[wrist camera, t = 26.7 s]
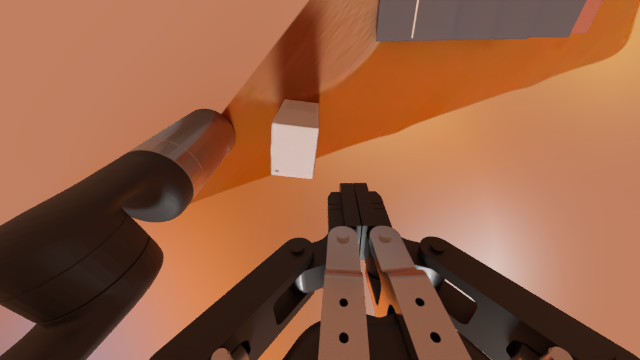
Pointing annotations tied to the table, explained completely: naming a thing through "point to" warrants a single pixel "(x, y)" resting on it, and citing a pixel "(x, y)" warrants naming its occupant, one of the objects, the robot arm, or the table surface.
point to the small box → (295, 139)
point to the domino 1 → (416, 20)
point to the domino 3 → (515, 19)
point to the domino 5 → (586, 16)
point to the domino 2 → (475, 19)
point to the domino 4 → (556, 18)
